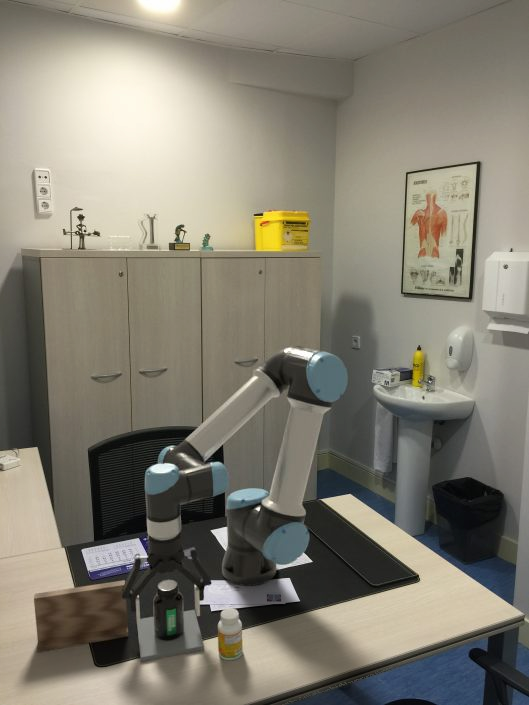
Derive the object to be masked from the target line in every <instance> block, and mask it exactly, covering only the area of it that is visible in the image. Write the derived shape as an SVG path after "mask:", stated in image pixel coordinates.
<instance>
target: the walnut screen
mask: <svg viewBox="0 0 529 705" xmlns="http://www.w3.org/2000/svg"><path fill="white" fill-rule="evenodd" d="M125 582H126V580H125V579H123V580H117V581H111V582H105V583H99V584H98V583H97V584H91V585H90V584H89V585H85V586H84V585H83V586H78V587H77V586H76V587H71V588H70V587H69V588H64V589H59V590H58V589H57V590H52V591H45V592H38V593H34V595H33V603H34V615H35V625H36V626H35V628H36V634H37V646H36V651H37V653H42V652H45V651H51V650H52V651H53V650H57V649H63V648H69V647H76V646H81V645H86V644H91V643H98V642H104V641H110V640H115V639H119V638H120V639H121V638H126V637H129V629H128V627H129V626H128V625H129V624H128V609H127V598H126V599H123V598H122V588H123V586H124V584H125Z"/></svg>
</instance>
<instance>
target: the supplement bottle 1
mask: <svg viewBox="0 0 529 705" xmlns="http://www.w3.org/2000/svg"><path fill="white" fill-rule="evenodd" d="M156 589H157V590H156V595H155V596H154V597H153V601H152V602H153V604H152V606H153V607H152V608H153V617H154V632H155V635H156V636H157V637H158V638H159V639H161V640H165V641H170V640H174V639H177V638H178V637H180V636H181V635H182V633H183V631H184V596H183V594H182V593H181V592H180V590H179V589H180V588H179V582H178V581H176V580H174V579H164V580H161V581H160V582H159V583H157V586H156Z"/></svg>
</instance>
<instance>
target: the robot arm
mask: <svg viewBox="0 0 529 705" xmlns="http://www.w3.org/2000/svg"><path fill="white" fill-rule="evenodd" d="M348 380H349V379H348V371H347V367H346V366H345V364H344V362H343V360H341V359H340V357H338V356H336V355H335V354H332V353H330V352H327V351H323V350H317V349H315V348H309V347H305V346H302V345H291V346H288V347H285V348H282V349H281V350H278V351H277V352H275V353H273V354H272V355H271V356H269V357H267V358H266V359H265V360H264V361H262V362H261V364H259V365H258V366H257V367H256V368H255V369H254V370H253V371H252V377H250V379H249V380H247V381H246V382H245V383H244V384H243V385H242V386H241V387H240V388H239V389H238V390H237V391H235V392H234V393H233V395H231V396H230V397H229V398H228V399H227V400H226V401H225V402H224V403H223V404H222V405H221V406H220V407H218V408H217V409H216V410H215V411H214V412H212V414H211V415H210V416H208V418H206V419H205V420H204V421H203V422H202V423H201V424H200V425H199V426H198V427H196V429H195V430H194V431H192V433H190V434H189V435H188V436H187V437H186V438H185V439H184V440H183V441H182V442H180V443H179V444H178V445H169V446H166V447H165V448H163V449H162V450H161V452H160V453H159V455H158V459H157V463H156V464H152V465H151V466H149V467H148V468H147V469H146V471H145V474H144V491H145V495H144V496H145V507H146V527H147V530H146V531H147V534H148V535H147V548H148V552H147V555H141V554H139V553H136V554H135V555H134V557H133V558H134V560H133V565H132V567H131V569H130V572H129V573H128V576H127V578H126V580H125V584H124V586H123V588H122V598H123V599H126V600H127V599H129V604H130V612H131V613H134V612H135V615H136V625H137V626H136V627H138V626H141V624H140V619H141V610H140V609H141V608H140V594H141V592H142V591H143V590H144V588H146V586H147V584H148V583H149V582H150V581H151V579H152V578H154V577H155V576H156V574H157V573H159V574H165V573H174V571H175V570H176V571H177V572H179V573H180V574H182V575H184V577H185V578H187V580H189V581H190V582H191V583H192V584H194V586H193V587H194V588H193V591H194V610H195V613H196V617H201V607H200V606H201V605H200V603H201V602H200V601H204V600H205V592H204V591H205V587H207V586H211V585H212V583H213V582H212V580H211V576H210V574H209V573H208V572H207V569H206V568H205V567H204V565H203V564H202V562H201V561H200V558H199V557H198V556H197V555H198V554H197V551H196V547H195V546H194V545H191V546H190V547H189V548H187V549H183V541H182V540H183V538H182V531H181V530H182V520H181V519H182V518H181V515H182V514H181V512H182V511H181V506H182V505H185V504H189V503H192V502H196V501H200V500H201V501H202V500H204V499H208V498H214V497H216V496H219V495H221V494H223V493H226V491H227V490H228V489H229V485H230V477H229V473H228V470H227V468H226V466H225V465H224V463H222V462H220V461H213V462H208V463H205V462H206V460H208V459H209V458H210V457H211V456H212V455H213V454H214V453H216V451H218V449H219V448H221V447H222V445H224V444H225V443H226V441H228V440H230V439H231V437H233V435H234V434H235V433H237V431H239V429H240V428H242V427H243V425H245V424H246V423H247V422H248V421H249V420H251V418H252V417H253V416H255V414H256V413H258V412H259V410H261V408H263V406H265V405H266V404H267V403H268V402H269V401H270V400H271V399H273V398H278V397H279V396H281V395H282V394H283V393H284V392H286V391H287V395H286V399H287V400H288V403H289V404H290V408H289V412H288V417H287V421H286V425H285V429H284V433H283V437H282V438H283V439H282V442H281V445H280V446H281V447H280V450H279V453H278V454H279V455H278V458H277V462H276V467H275V470H274V474H273V478H272V481H271V482H272V483H271V487H270V490H269V492H268V490H266V489H262V488H253V487H252V488H251V487H250V488H241V489H239V490H236V491H233V492H231V493H229V495H228V496H227V499H226V504H225V505H226V506H225V510H226V527H227V528H226V532H227V547H226V549H225V552H224V556H223V559H222V562H221V574H222V576H223V578H225V579H226V581H228V582H230V583H232V584H236V585H240V586H256V585H261V584H265V583H267V582H269V581H270V580H272V579H273V577H275V575H276V574H277V565H280V566H285V565H289V564H292V563H294V562H295V561H296V560H298V558H301V557H302V556H303V554H304V553H305V551H306V550H307V548H308V545H309V542H310V532H309V530H308V528H307V526H306V525H305V524H304V522H305V517H306V514H307V512H306V511H307V510H306V509H305V508H304V505H303V501H304V497H305V492H306V489H307V485H308V484H307V483H308V481H309V477H310V471H311V468H312V463H313V460H314V456H315V451H316V448H317V443H318V439H319V436H320V431H321V426H322V423H323V418H324V414H325V413H326V412H328V411H329V410H331V409H332V407H333V403H334V402H335V401H337V400H339V399H340V397H341V396H343V394H344V393H345V391H346V390H347V386H348ZM185 557H187V559H189V560H191V561H192V563H193V565H194V567H195V569H196V570H197V572H198V573H199V575H200V576H201V577H199V576H198V575H197V574H196V573H195V572H194V571H193V570H192V569H191V568H190V567H188V566H187V564H185V563H184V562H183V560H184V559H185ZM145 563H147V564H149V565H148V566H147V568H146V570H145V571H144V572H143V574H142V575H140V576H141V577H140V578H138V580H137V581H136V579H137V577H138V575H139V572H140V570H141V567H143V566H144V564H145ZM135 581H136V583H135Z"/></svg>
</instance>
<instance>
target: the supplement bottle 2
mask: <svg viewBox="0 0 529 705" xmlns="http://www.w3.org/2000/svg"><path fill="white" fill-rule="evenodd" d="M239 615H240V613H239V611H238V610H237V609H236V608H231V607H230V608H226V609H223V610H222V611H221V612H220V620H219V622H218V623H217V644H218V645H217V646H218V650H217V651H218V655H219V657H220V658H221V659H223V660H226V661H233V660H234V661H235V660H238V659H239V658H240V657H241V656H242V654H243V650H244V649H243V648H244V647H243V646H244V644H243V623H242V621H241V620H240V616H239Z"/></svg>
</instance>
